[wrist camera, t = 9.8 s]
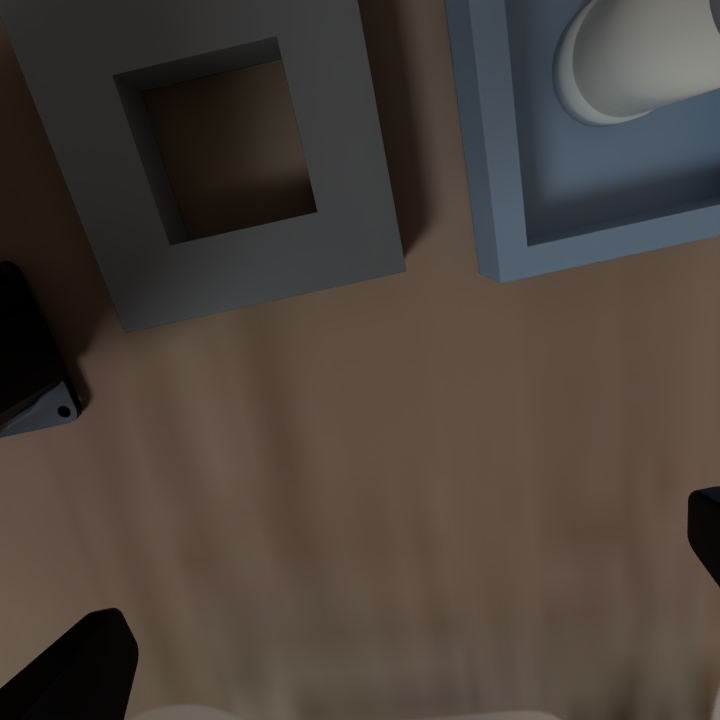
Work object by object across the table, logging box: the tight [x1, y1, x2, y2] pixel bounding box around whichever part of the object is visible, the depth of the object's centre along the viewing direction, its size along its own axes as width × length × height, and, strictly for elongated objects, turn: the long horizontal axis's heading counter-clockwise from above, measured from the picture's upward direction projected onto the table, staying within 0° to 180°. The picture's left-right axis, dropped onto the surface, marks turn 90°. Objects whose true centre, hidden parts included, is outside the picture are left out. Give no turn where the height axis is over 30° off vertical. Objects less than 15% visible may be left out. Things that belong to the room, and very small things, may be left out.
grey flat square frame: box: [0, 0, 406, 333], centre depth 15 cm, size 10×10×2 cm
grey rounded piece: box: [552, 0, 720, 127], centre depth 11 cm, size 4×4×8 cm
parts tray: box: [445, 0, 720, 283], centre depth 14 cm, size 10×12×2 cm
